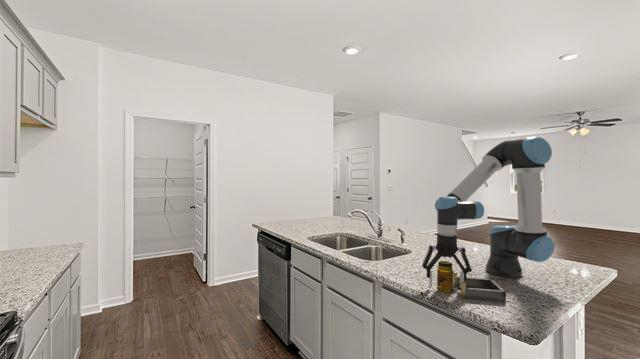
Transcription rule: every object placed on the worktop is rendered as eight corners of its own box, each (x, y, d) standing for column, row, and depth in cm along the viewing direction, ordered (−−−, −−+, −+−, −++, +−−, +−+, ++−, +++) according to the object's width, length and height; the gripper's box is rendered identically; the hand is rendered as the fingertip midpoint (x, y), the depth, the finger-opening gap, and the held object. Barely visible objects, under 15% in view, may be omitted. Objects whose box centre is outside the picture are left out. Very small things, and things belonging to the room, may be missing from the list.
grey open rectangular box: (491, 288, 121) (492, 274, 121) (506, 302, 107) (506, 287, 107) (452, 285, 124) (452, 271, 124) (461, 298, 111) (461, 283, 110)
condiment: (433, 291, 117) (433, 262, 117) (440, 285, 124) (440, 258, 124) (452, 296, 113) (452, 266, 112) (458, 290, 119) (458, 261, 119)
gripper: (475, 233, 119) (474, 285, 119) (415, 231, 124) (414, 280, 124) (481, 237, 112) (480, 293, 112) (417, 234, 116) (417, 287, 117)
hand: (446, 286), depth 118 cm, fingers open, 11 cm apart
